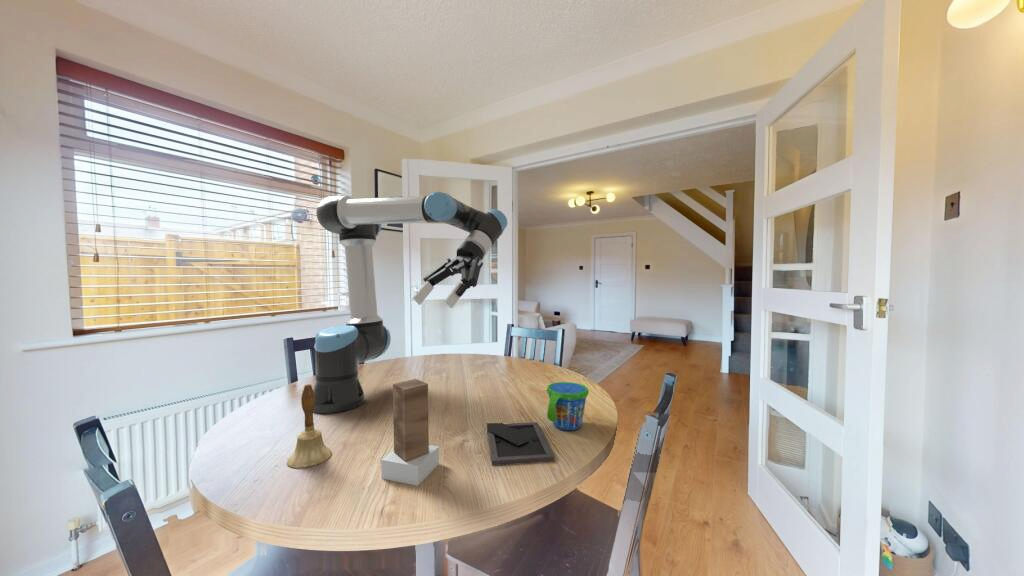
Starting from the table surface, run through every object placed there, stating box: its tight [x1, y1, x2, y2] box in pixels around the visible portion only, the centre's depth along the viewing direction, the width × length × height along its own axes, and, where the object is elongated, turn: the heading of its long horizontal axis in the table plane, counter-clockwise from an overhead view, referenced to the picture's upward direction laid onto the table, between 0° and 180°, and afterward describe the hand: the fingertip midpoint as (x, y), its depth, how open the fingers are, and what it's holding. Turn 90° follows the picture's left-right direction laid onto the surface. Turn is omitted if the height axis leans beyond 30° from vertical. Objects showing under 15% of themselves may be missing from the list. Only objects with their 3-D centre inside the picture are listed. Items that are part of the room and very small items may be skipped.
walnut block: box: [392, 378, 430, 462], centre depth 69 cm, size 5×5×14 cm
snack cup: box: [546, 381, 590, 431], centre depth 91 cm, size 16×10×10 cm
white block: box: [380, 444, 440, 486], centre depth 70 cm, size 8×8×4 cm
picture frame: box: [486, 421, 556, 466], centre depth 81 cm, size 13×2×18 cm
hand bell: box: [286, 383, 333, 469], centre depth 74 cm, size 8×8×16 cm
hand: (431, 302), depth 91 cm, fingers open, 13 cm apart
